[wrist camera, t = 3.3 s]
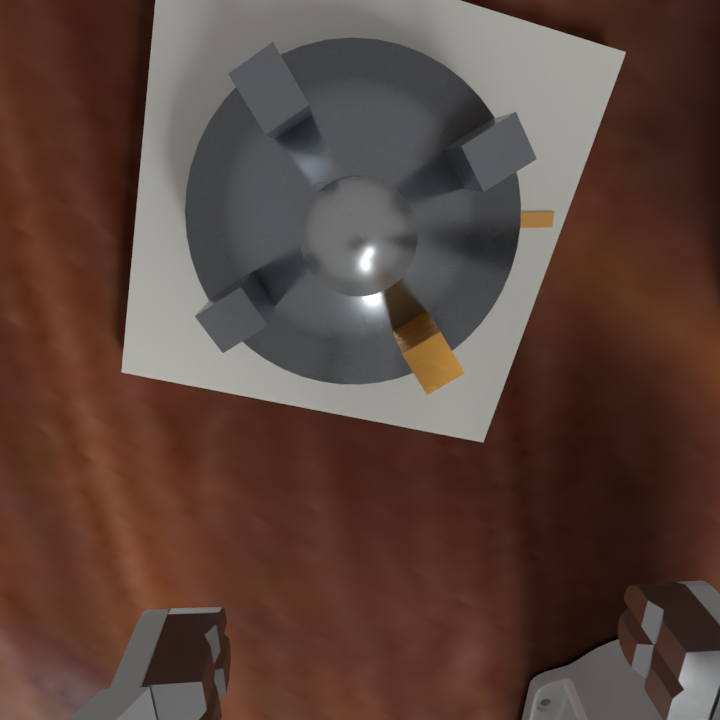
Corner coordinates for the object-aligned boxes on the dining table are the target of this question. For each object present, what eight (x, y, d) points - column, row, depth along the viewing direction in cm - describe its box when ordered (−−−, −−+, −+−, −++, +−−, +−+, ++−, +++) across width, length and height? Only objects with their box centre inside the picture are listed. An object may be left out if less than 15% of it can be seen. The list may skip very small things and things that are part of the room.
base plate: (476, 431, 33) (483, 443, 32) (131, 363, 31) (120, 373, 29) (610, 58, 26) (627, 51, 25) (173, -77, 23) (163, -94, 22)
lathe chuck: (452, 391, 30) (480, 442, 25) (180, 335, 28) (142, 376, 23) (548, 101, 25) (611, 82, 20) (223, 6, 23) (188, -46, 17)
